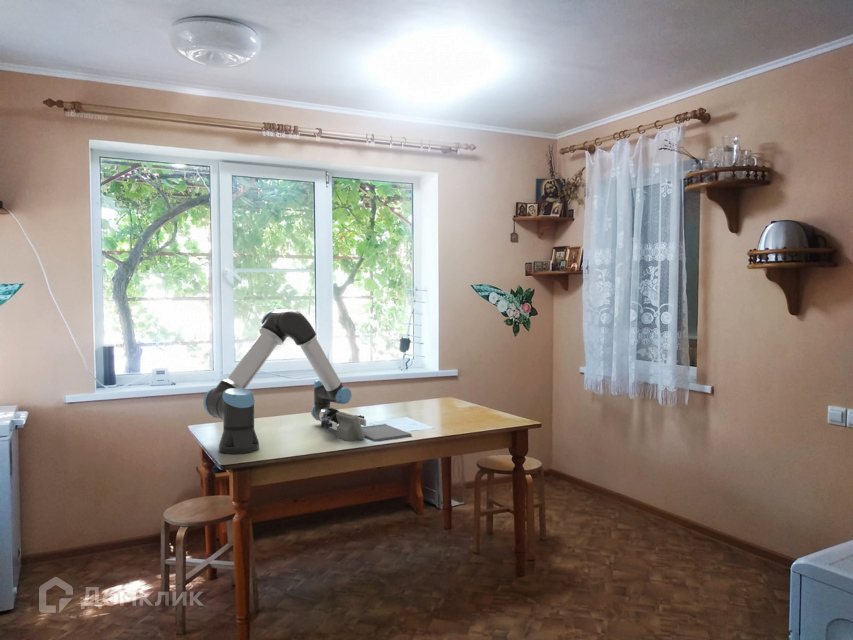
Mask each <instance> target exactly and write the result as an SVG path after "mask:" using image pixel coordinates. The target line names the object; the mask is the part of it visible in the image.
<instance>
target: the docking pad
mask: <svg viewBox="0 0 853 640" xmlns="http://www.w3.org/2000/svg"><path fill="white" fill-rule="evenodd" d="M361 427H362V430H363V433H364V436H365V437H364V439H365V438H366V439H368V440H370V441H372V442H381V441H388V440H394V439H402V438H408V437H412V433H409V432H408V431H405V430H402V429H399V428H396V427H393V426H391V425H388V424H386V423H381V424H379V423H378V424H372V425H371V424H370V425H366V426H363V425H362V426H361Z"/></svg>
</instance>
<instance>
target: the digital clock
mask: <svg viewBox="0 0 853 640" xmlns="http://www.w3.org/2000/svg"><path fill="white" fill-rule="evenodd" d="M355 415H356V414H351V413H347V412H344V411H339V412H337V413H336V418H337V421H338V423H339V424H338V425H337V430H335V431H336V435H335V436H336V438H337V439H340V440H344V441H345V442H350V441H351V442H352V441H356V440H358V441H363V440H365V436H364V433H363V430H362V427H363V426H362V425H361V424H360V421H359V418H358V417H357V416H358V415H357V416H355Z"/></svg>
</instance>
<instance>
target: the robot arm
mask: <svg viewBox="0 0 853 640" xmlns="http://www.w3.org/2000/svg"><path fill="white" fill-rule="evenodd" d="M287 338H290V339H292V340H293V342H294V343H295V345H296V346H299V347H300V348H301V351H302V352H303V353H304V355H305V357H306V359H307V360H308V362H309V363H310V365H311V367H312V368H313V370H314V372H315V374H316V376H317V377H318V379H315V380H314V382H313V401H314V402H313V406H312V407H311V409H310V414H311V416H312V418H313V419H315V420H316V421H319V422H320V423H321V425H320V426H321V428H324V427H325V429H329V428H330V429H333V430H334V431H336V430H337V426H338V425H339V423H338V421H337V418H336V413H337V412H340V410H338V409H337V408H334V407H331V403H334V404H335V403H336V404H337V405H338V404H339V405H346V404H348V403H349V402H350V401H351V399H352V396H353V395H352V391H351V389H349V388H348V387H347V386H344V385H343V383H342V381H341V380H340V378H339V376H338V374H337V373H336V371H335V369H334V367H333V366H332V364H331V362H330V360H329V359H328V357H327V354H326V353H325V351H324V350H323V348H322V346H321V345H320V343H319V341H318V340H317V332H316V330H315V329H314V327H313V326H312V325H311V323H310V321H309V320H308V319H307V318H306V316H305V315H304V314H302V312H300V311H298V310H295V309H279V308H277V309H271V310H269V311H267V312H266V313H265V314H264V315H263V317H262V319H261V326H260V327H259V335H258V337H257V338H256V339H255V341H254V342H253V344H251V346H250V347H249V349H248V350H247V351H246V352H245V354H244V355H243V357H242V358H241V359H240V361H239V362H238V364H237V365H236V366H235V368H234V369H233V370H232V372H231V373H230V375H229V376H228V377H227V378H226V379H222V380H221V381H220V382H219V383H218V384H217V386H216V387H213V388H211V389H209V390H208V391H207V392H206V393H205V395H204V397H203V408H204V410H205V412H206V413H207V414H208V415H210V416H212V417H213V418H216V419H220V420H223V421H222V423H223V424H222V425H223V429H222V430H223V431H222V434H221V437H220V440H219V444H218V451H221V452H224V453H223V454H226V453H230V454H229V455H236V454H237V455H238V454H239V453H241V454H246V453H252V452H255V451H257V450H259V449H260V441H259V438H258V435H257V432H256V430H255V402H256V401H255V395H254V392H253V391H252V390H250V389H248V386H249V385H250V383H251V382H252V381H253V380H254V378H255V377H256V375H257V374H258V372H259V371H260V370H261V368H262V367H263V365H264V364H265V362H266V361H267V360H268V359H269V357H270V356H271V354H272V353H273V351H274V350H275V348H276V347H277V346H280V345H283V344H284V342H285V341H286V339H287ZM354 415H355V416H357V417H358V418H359V421H360V424H361V426H362V427H363V426H367V419H365V416H364V415H357V414H354ZM221 452H220V453H221Z"/></svg>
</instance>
